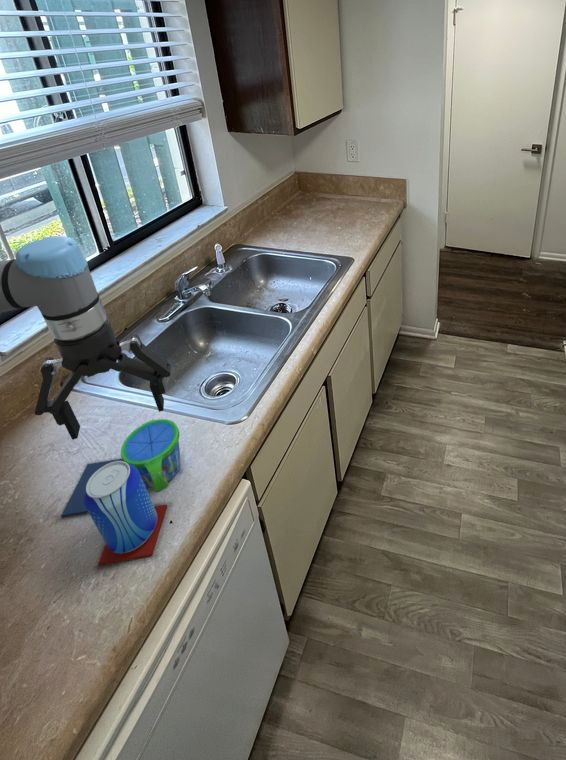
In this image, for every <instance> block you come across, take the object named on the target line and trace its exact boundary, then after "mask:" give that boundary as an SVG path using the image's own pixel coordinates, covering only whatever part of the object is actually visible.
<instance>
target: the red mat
mask: <svg viewBox="0 0 566 760" xmlns="http://www.w3.org/2000/svg"><path fill="white" fill-rule="evenodd" d="M154 508H155V510H156V513H157V523H156V526H155V528H154V530H153V532H152V534H151V535H150V537H149V538H148V540H147V541H146V542H145V543H144V544H142V545H141V546H140V547H138V548H137V549H135V550H133V551H130V552H126V553H114V552H112V551H110V550H109V549H108V547H107V545H106V544H105V545H104V548H103V551H102V553H101V555H100V558H99V560H98V563H97V565H98V567H101V566H106V565H110V564H111V565H112V564H116V563H120V562H126V561H131V560H136V559H137V560H138V559H141V558H147V557H153V555H154V551H155V548H156V545H157V543H158V538H159V536H160V532H161V530H162V529H161V528H162V527H163V526H162V525H163V522H164V518H165V517H166V512H167V510H168V504H162V505H156V506H154Z"/></svg>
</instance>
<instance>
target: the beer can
mask: <svg viewBox="0 0 566 760" xmlns="http://www.w3.org/2000/svg"><path fill="white" fill-rule="evenodd" d="M84 504H85V507H86V509H87V510H88V512H89V513H88V514H89V516H90V518H91V520H92V521H93V523H94V525H95V527H96V529H97V531H98V532H99V534H100V536H101V538H102V540H103V542H104V544H105V545H107V547H108V549H109V550H110V551H112V552H114V553H126V552H130V551H133V550H135V549H137V548H138V547H140V546H141V545H142V544H144V543H145V542H146V541H147V540H148V538H149V537H150V535H151V534H152V532H153V530H154V528H155V526H156V523H157V513H156V510H155V508H154V507H155V506H154V503H153V501H152V499H151V496H150V494H149V492H148V490H147V486H146V485H145V484H144V482H143V480H142V478H141V476H140V473H139V471H138V469H137V468H136V467H134V466H133V465H129V464H127V463H126V462H123V461H115V462H111V463H109V464H106V465H104V466H103V467H101V468H100V469H98V470H97V471H96V472H95V473H94V474H93V475H92V476H91V477H90V479H89V480H88V482H87V485H86V492H85V495H84Z"/></svg>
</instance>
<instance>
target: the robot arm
mask: <svg viewBox="0 0 566 760" xmlns="http://www.w3.org/2000/svg"><path fill="white" fill-rule="evenodd" d="M31 307H36V308H37V309H38V310H39V312H40V314H41V316H42V318H43V320H44V322H45V324H46V326H47V328H48V331H49V333H50V335H51V337H52V338H53V341H54V344H55V346H56V348H57V351H58V352H59V355H60V356H61V357H60V358H56V359H54V358H53V357H51V356H47V357H46V358H44V360H43V363H42V365H41V368H40V373H41V377H42V382H41V386H40V390H39V394H38V398H37V402H36V405H35V409H34V415H35V416H41V415H43V414H46V413H49V414H50V415H52V417H53V419H54V421H55V423H56V425H58V426H65V429H66V430H67V432H68V434H69V436H70V438H71V440H73V441H74V440H76V439H78V437H79V434H80V429H81V425H80V423H79V420H78V419H77V415H76V414H75V413H74V410H73V408H72V406H71V404H70V402H69V400H67V399H68V397H69V396H70V394H71V393H72V391H73V389H74V388H75V386H76V385H77V384H78V383H79V381H80V380H81V378H82V377H87V378H90V377H94V376H97V375H98V374H104V373H108V372H110V370H113V371H116V372H119V373H120V372H124V373H127V374H129V375H132V376H135V377H137V378H140V379H143V380H145V381H147V382H149V389H150V391H151V394H152V397H153V400H154V402H155V405H156V407H157V410H158V412H159V413H160V412H163V411H164V410H165V408H164V407H165V405H164V404H165V398H164V396H163V394H166V383H165V380H164V378H169V377H170V376H171V375H172V374H171V372H172V366H171V365H172V364H171V363H170V362H168V361H167V360H165V359H164V358H163V357H161V356H160V355H159V354H157V352H154V350H152V349H151V348H149V347H148V346H147V345H145V344H144V343H143V342H142V340H141V338H140V337H139V335H137V334H132V335H131V336H130V339H127V340H124V341H122V342H120V341H119V340H117V338H116V335H115V333H114V330H113V327H112V324H111V323H110V320H109V319H108V315H107V312H106V310H105V307H104V305H103V302H102V300H101V298H100V295H99V293H98V290H97V288H96V285H95V282H94V280H93V276H92V273H91V272H90V268H89V264H88V260H87V259H86V258H85V256H84V254H83V253H82V250H81V248H80V245H79V244H78V242H77V241H76V240H74V239H73V238H71V237H68V236H62V235H57V236H47V237H45V238H43V239H37V240H33V241H30V242H28V243H26V244H25V245H23V246H21V247H20V248H19V249H17V251H16V252H15V257H14V258H13V259H7V260H0V314H1V313H4V312H9V311H16V310H21V309H27V308H31ZM122 351H126V352H128V353H129V354H133V356H134V357H136V358H137V359H138V360H137V359H135V358H132V357H130V356H128V354H126V353H124V352H122ZM61 368H64V369H65V370H68V371H70V373H69V374H68V376H67V378H66V379H65V381H64V382H63V384H62V386H61V387H60V389H59V390H58V392H57V393H56V395H55V396H53V399H52V400H49V398H50V394H51V389H52V386H53V382H54V378H55V374H57V373H59V370H60V369H61Z"/></svg>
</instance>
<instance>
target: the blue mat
mask: <svg viewBox="0 0 566 760" xmlns="http://www.w3.org/2000/svg"><path fill="white" fill-rule="evenodd" d="M115 461H123V460H122V458H117V459H110V460H106V461H99V462H93V463H87V465H86V466H85V468H84V470H83V472H82V474H81V476H80V478H79V480H78V482H77V484H76V486H75V488H74V490H73V492H72V493H71V495H70V498H69V499H68V502H67V503H66V505H65V507H64V509H63V511H62V513H61V517H62V518H65V517H71V516H77V515H82V514H89V512H88V510H87V509H86V507H85V504H84V495H85V492H86V485H87V482H88V480H89V479H90V477H91V476H92V475H93V474H94V473H95V472H96V471H97V470H98V469H100V468H101V467H103V466H104V465H106V464H109V463H111V462H115ZM123 462H124V461H123Z"/></svg>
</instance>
